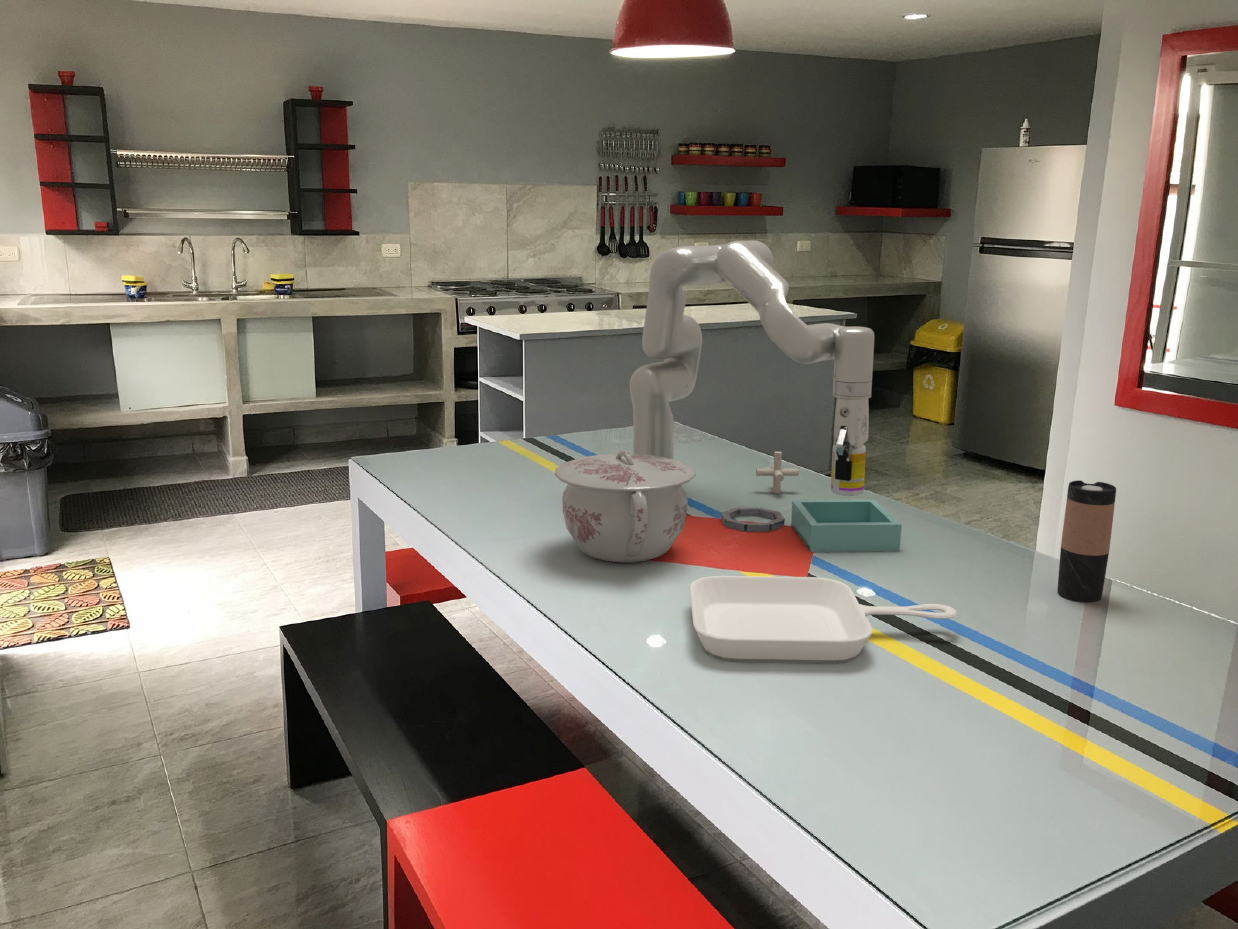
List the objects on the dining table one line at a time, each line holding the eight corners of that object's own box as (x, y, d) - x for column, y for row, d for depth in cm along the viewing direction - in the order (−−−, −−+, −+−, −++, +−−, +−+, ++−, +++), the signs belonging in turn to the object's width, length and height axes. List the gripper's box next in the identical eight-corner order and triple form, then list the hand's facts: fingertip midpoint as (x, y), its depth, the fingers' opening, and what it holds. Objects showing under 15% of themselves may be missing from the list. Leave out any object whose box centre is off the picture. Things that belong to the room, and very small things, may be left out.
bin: (810, 551, 198) (811, 525, 197) (791, 524, 216) (792, 500, 214) (899, 550, 199) (901, 524, 198) (873, 524, 216) (874, 499, 215)
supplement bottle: (870, 494, 203) (874, 432, 200) (845, 498, 200) (848, 435, 197) (848, 486, 209) (851, 426, 206) (823, 490, 206) (826, 429, 203)
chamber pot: (600, 524, 216) (600, 430, 211) (716, 544, 203) (719, 445, 198) (526, 561, 192) (523, 456, 187) (651, 587, 179) (653, 475, 174)
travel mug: (1083, 606, 171) (1096, 493, 166) (1046, 591, 177) (1058, 483, 173) (1112, 598, 174) (1127, 488, 169) (1075, 584, 181) (1088, 478, 176)
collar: (727, 532, 211) (727, 525, 210) (718, 514, 223) (718, 507, 223) (788, 531, 211) (788, 524, 211) (776, 513, 224) (776, 507, 224)
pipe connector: (800, 498, 236) (802, 457, 234) (758, 498, 236) (759, 457, 234) (794, 487, 246) (795, 447, 243) (753, 487, 246) (754, 447, 244)
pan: (687, 600, 174) (688, 575, 173) (931, 603, 173) (933, 578, 172) (694, 667, 148) (695, 638, 147) (982, 672, 146) (984, 643, 145)
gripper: (859, 397, 191) (855, 487, 195) (881, 384, 206) (876, 468, 210) (821, 394, 194) (817, 483, 198) (845, 381, 209) (841, 464, 213)
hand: (847, 475), depth 204 cm, fingers closed on supplement bottle, 6 cm apart
